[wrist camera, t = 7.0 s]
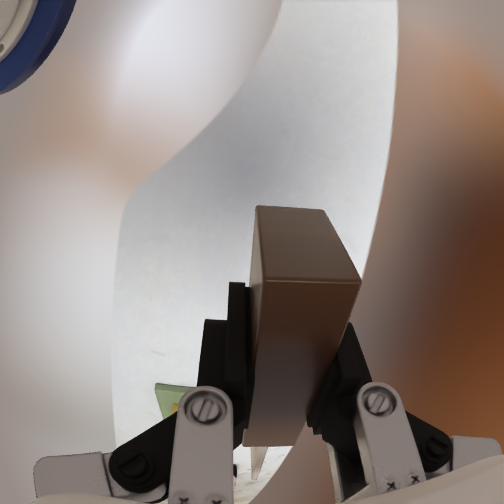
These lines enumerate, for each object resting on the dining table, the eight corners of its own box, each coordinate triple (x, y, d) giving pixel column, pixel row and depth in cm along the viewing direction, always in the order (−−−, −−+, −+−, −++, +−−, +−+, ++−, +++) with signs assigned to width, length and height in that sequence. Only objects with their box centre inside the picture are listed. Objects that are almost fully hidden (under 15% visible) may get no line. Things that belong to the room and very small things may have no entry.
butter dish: (170, 433, 43) (167, 453, 40) (155, 383, 35) (150, 409, 32) (217, 438, 44) (216, 458, 40) (217, 389, 36) (216, 415, 32)
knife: (255, 204, 9) (262, 278, 6) (324, 208, 9) (364, 281, 6) (236, 437, 16) (236, 487, 13) (268, 437, 16) (272, 487, 13)
